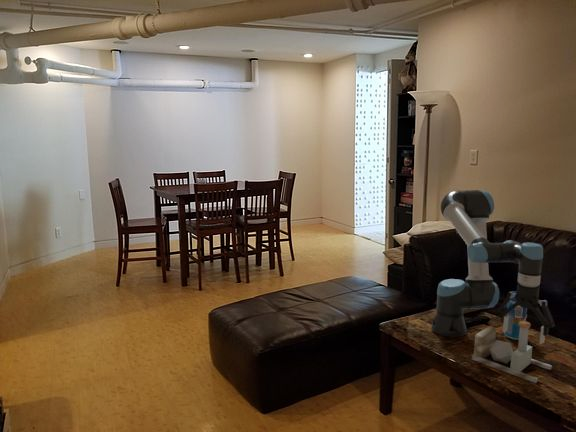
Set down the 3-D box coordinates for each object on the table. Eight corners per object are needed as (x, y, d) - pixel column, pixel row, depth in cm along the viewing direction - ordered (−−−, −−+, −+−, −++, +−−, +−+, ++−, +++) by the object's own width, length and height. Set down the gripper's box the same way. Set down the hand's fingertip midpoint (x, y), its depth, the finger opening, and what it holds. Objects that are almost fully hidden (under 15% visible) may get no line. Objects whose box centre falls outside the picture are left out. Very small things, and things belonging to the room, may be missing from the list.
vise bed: (471, 359, 189) (473, 335, 187) (488, 347, 199) (490, 325, 197) (535, 383, 171) (538, 357, 169) (551, 369, 181) (553, 344, 179)
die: (515, 361, 188) (505, 337, 192) (519, 360, 181) (508, 335, 184) (495, 367, 190) (485, 343, 194) (497, 366, 182) (487, 341, 186)
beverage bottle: (500, 335, 211) (503, 292, 207) (509, 330, 216) (513, 289, 212) (518, 342, 204) (522, 298, 201) (528, 336, 209) (532, 294, 205)
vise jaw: (508, 370, 180) (512, 325, 176) (521, 359, 188) (525, 317, 184) (519, 374, 177) (523, 329, 174) (532, 363, 185) (536, 320, 181)
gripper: (491, 278, 183) (486, 329, 187) (561, 295, 165) (554, 351, 169) (499, 274, 188) (495, 324, 192) (568, 290, 170) (562, 344, 174)
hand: (523, 336), depth 180 cm, fingers open, 13 cm apart
